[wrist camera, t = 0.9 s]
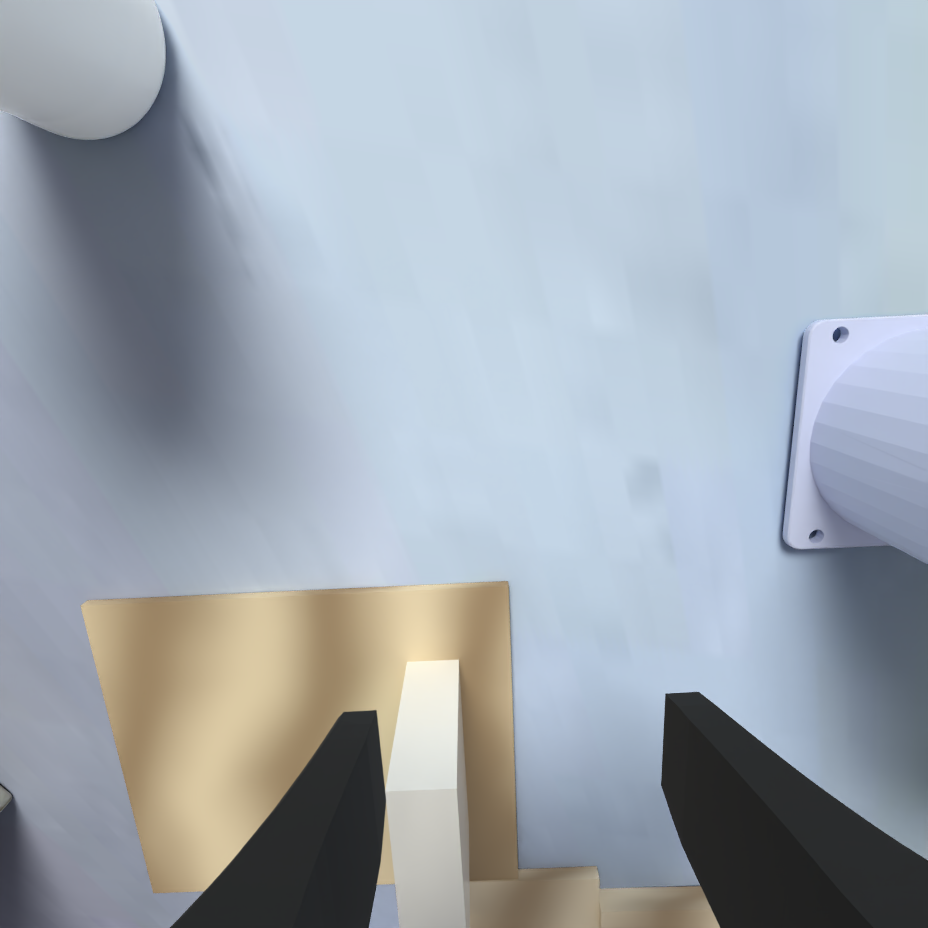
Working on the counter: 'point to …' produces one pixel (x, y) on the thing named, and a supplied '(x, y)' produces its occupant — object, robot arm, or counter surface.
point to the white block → (430, 800)
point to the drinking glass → (80, 64)
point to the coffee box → (4, 798)
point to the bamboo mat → (291, 707)
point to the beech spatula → (583, 903)
